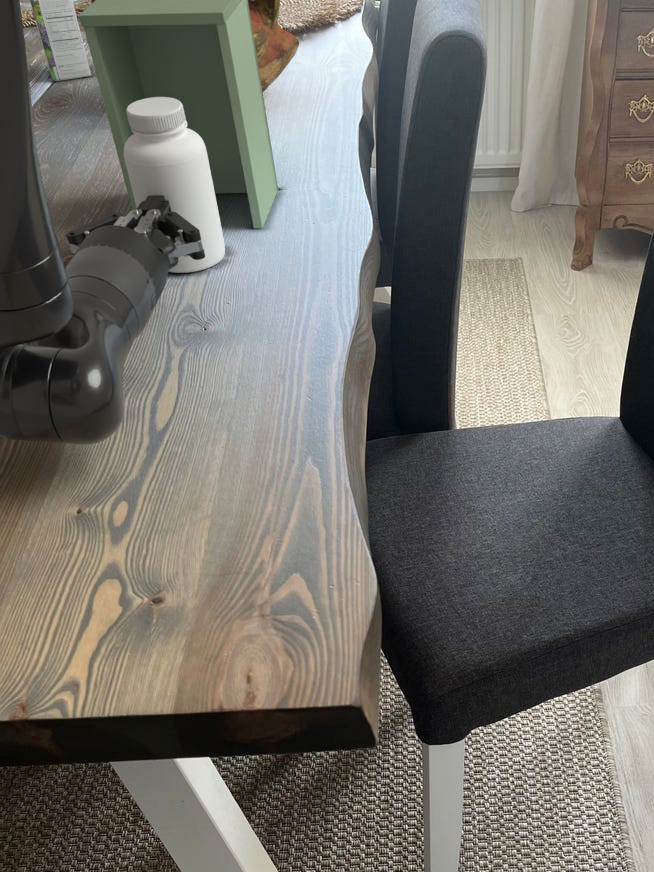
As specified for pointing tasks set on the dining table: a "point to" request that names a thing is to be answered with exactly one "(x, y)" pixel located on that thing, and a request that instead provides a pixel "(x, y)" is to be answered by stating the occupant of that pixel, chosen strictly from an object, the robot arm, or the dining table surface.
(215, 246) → the pill bottle
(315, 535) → the dining table surface
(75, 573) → the dining table surface
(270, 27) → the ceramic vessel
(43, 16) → the syrup box
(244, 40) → the cabinet
